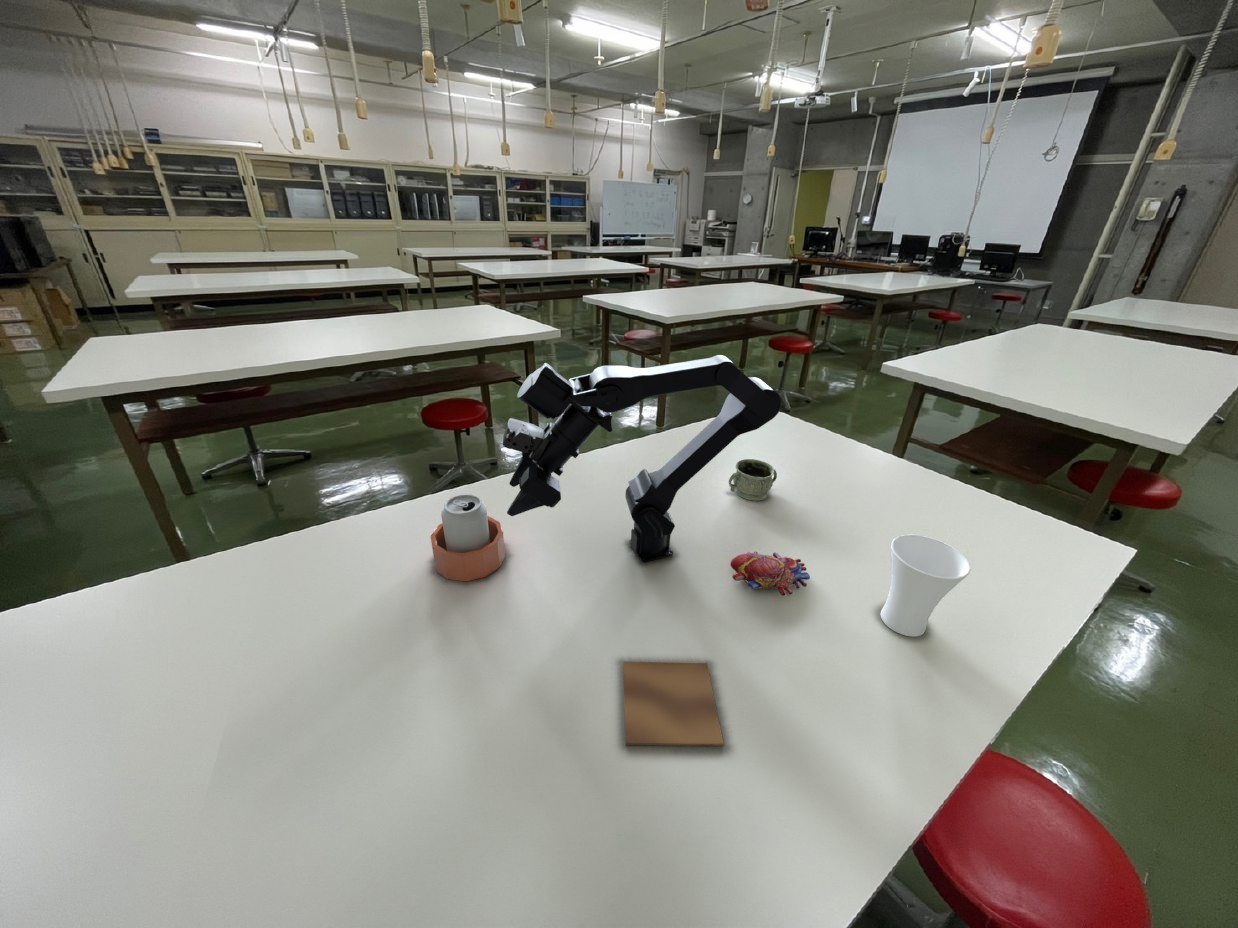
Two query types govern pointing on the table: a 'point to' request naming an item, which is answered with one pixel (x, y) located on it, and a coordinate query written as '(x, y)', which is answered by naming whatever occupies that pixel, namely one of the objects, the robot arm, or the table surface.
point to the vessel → (752, 479)
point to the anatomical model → (769, 571)
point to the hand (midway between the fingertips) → (510, 499)
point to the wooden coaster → (669, 704)
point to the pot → (469, 555)
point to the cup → (920, 581)
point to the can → (465, 523)
